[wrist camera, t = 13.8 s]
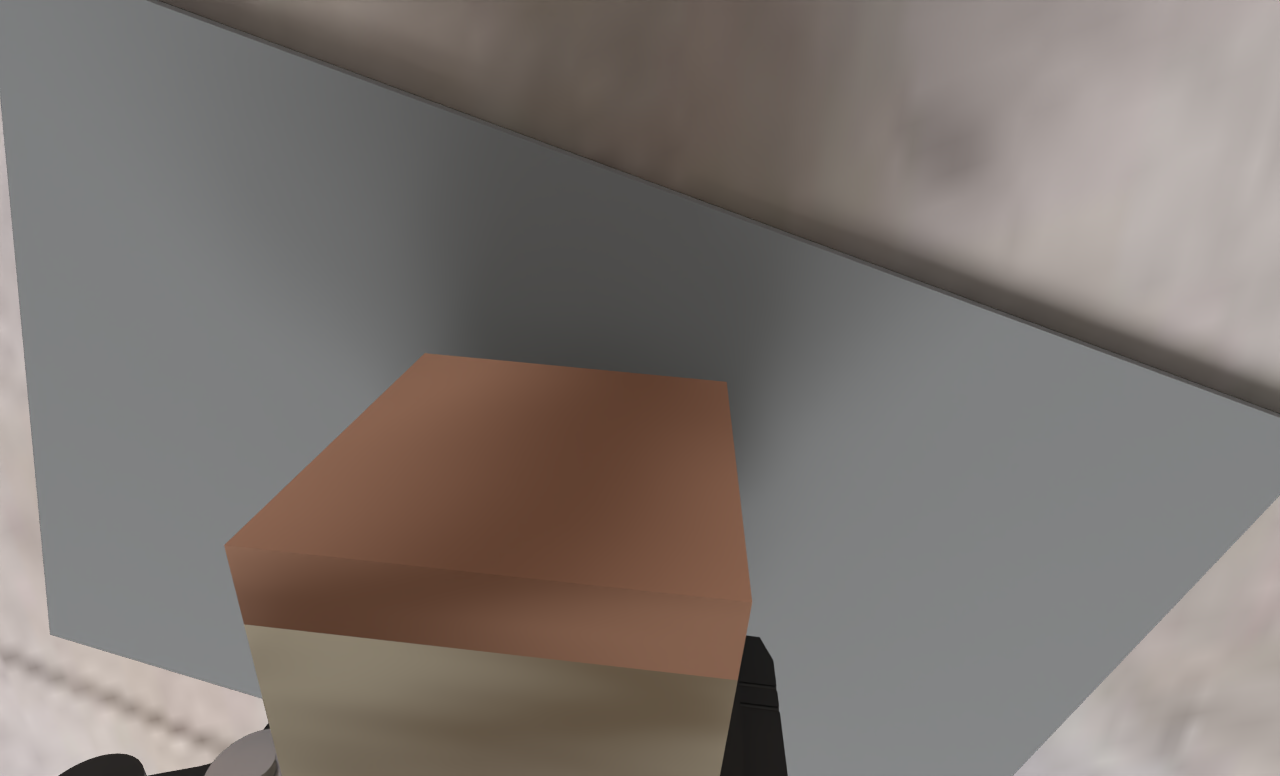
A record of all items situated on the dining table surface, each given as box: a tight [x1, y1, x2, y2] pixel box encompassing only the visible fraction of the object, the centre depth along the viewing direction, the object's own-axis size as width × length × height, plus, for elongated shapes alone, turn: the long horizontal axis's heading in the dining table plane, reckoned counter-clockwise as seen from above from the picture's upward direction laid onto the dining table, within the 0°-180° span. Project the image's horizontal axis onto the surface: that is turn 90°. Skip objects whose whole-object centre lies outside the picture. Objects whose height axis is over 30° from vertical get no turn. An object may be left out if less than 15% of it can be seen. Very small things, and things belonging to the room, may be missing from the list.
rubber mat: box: [0, 0, 1280, 776], centre depth 15 cm, size 26×17×1 cm, turn 71°
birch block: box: [224, 353, 752, 776], centre depth 11 cm, size 5×5×12 cm
